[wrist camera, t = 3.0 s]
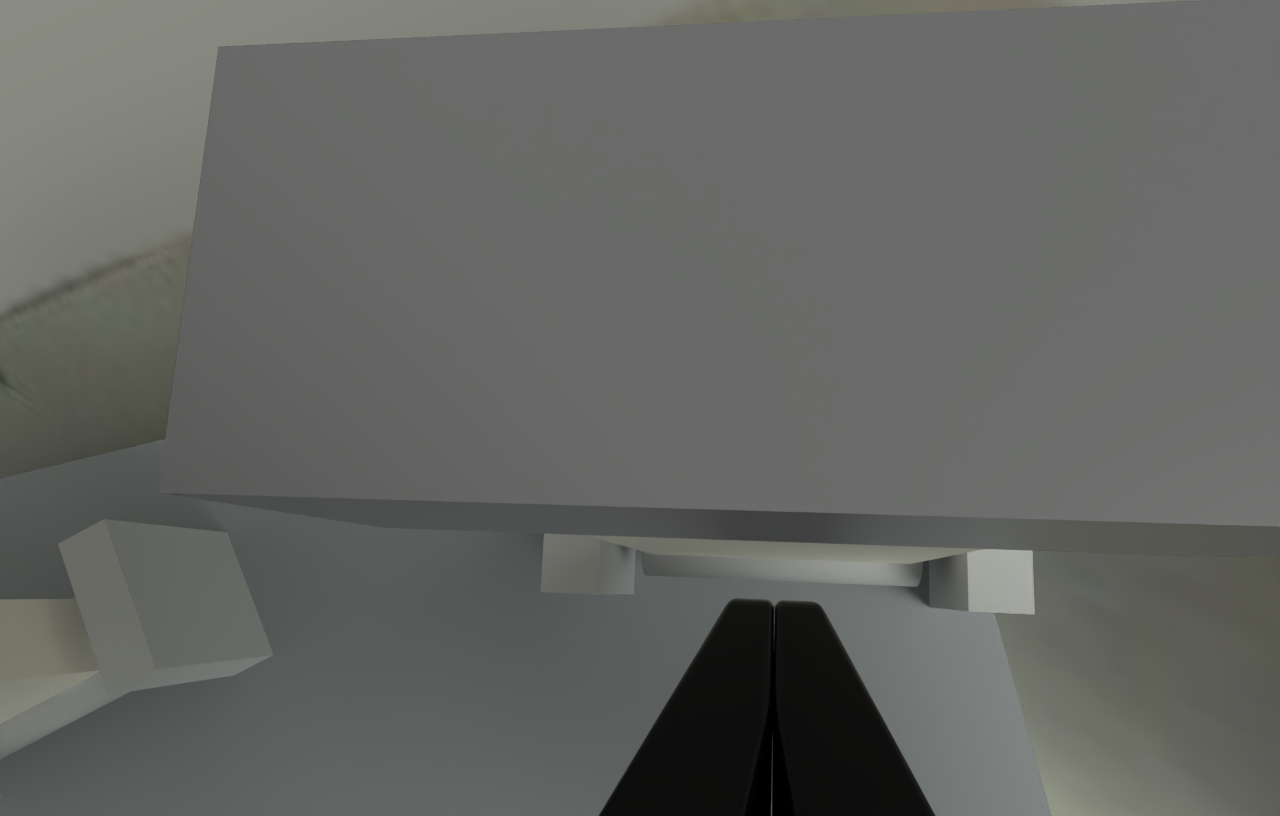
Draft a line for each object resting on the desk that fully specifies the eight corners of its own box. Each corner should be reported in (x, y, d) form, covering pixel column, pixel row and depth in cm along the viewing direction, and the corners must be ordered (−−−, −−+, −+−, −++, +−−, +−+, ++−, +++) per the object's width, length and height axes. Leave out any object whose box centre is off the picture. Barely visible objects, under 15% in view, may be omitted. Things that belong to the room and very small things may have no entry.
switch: (908, 586, 15) (1547, 572, 2) (653, 576, 15) (154, 524, 3) (906, 471, 15) (1466, -41, 3) (658, 466, 16) (221, 22, 3)
